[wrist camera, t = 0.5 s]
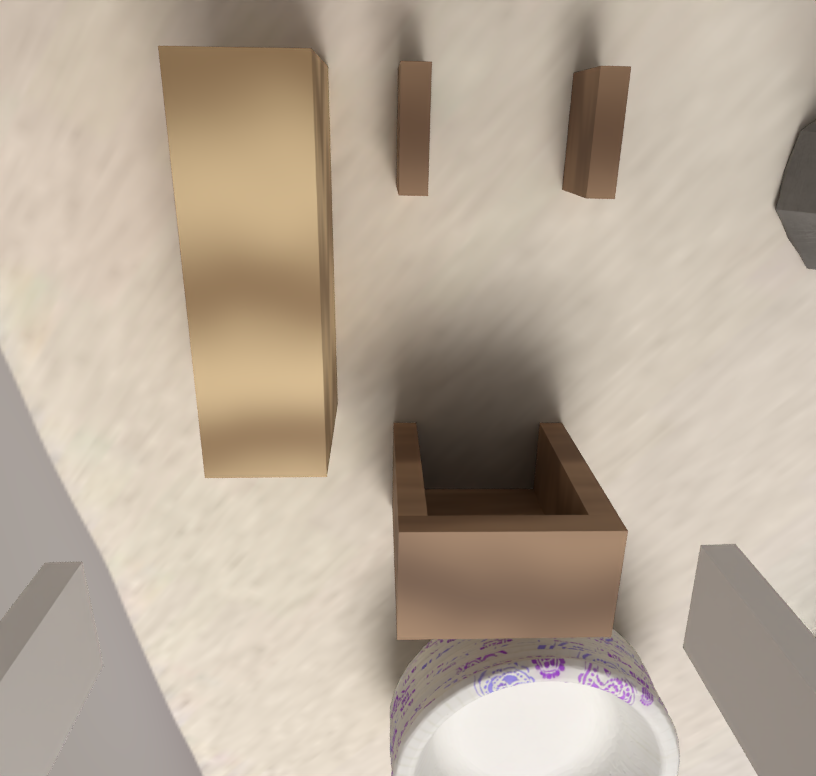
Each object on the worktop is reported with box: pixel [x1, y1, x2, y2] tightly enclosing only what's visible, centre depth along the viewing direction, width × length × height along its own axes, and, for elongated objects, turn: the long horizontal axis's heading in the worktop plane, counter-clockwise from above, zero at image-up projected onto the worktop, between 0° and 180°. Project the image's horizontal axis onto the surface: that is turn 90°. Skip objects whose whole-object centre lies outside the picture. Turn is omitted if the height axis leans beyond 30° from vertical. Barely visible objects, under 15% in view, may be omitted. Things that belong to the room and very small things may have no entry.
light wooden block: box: [158, 46, 338, 478], centre depth 29 cm, size 16×5×8 cm, turn 179°
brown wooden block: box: [392, 423, 628, 640], centre depth 32 cm, size 5×9×10 cm, turn 89°
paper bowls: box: [390, 629, 680, 776], centre depth 39 cm, size 15×15×8 cm
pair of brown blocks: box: [397, 61, 631, 199], centre depth 29 cm, size 5×9×4 cm, turn 89°
